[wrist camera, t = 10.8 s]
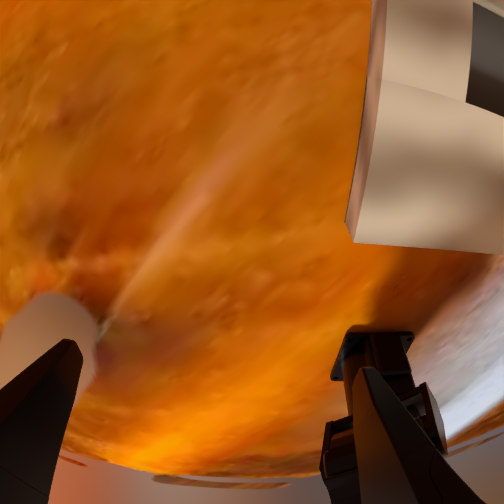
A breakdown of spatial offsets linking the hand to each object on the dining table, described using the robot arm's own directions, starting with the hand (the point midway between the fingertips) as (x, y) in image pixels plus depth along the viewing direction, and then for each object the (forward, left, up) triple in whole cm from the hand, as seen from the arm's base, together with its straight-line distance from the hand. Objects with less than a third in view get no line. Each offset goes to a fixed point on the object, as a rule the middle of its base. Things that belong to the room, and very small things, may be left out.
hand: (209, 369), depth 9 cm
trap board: (+8, -20, -12) cm, 24 cm away
